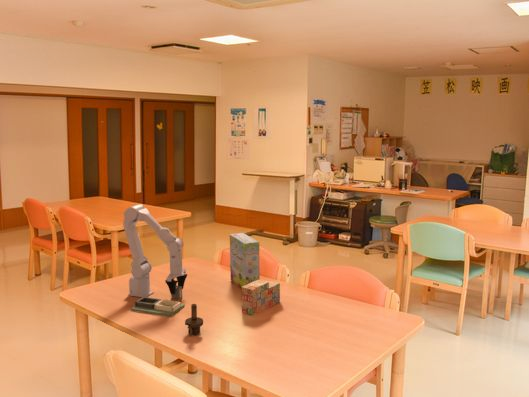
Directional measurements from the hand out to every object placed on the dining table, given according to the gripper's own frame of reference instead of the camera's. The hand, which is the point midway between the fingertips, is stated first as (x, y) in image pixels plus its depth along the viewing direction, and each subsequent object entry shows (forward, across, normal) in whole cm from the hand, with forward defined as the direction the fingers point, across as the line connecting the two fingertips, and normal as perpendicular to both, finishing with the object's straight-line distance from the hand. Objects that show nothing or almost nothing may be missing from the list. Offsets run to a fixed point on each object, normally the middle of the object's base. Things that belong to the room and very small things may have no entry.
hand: (176, 291), depth 241 cm
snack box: (+3, +27, -24) cm, 36 cm away
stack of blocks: (+4, +3, -42) cm, 42 cm away
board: (+3, -15, +1) cm, 15 cm away
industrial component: (+3, -32, -27) cm, 42 cm away
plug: (+3, 0, 0) cm, 3 cm away
